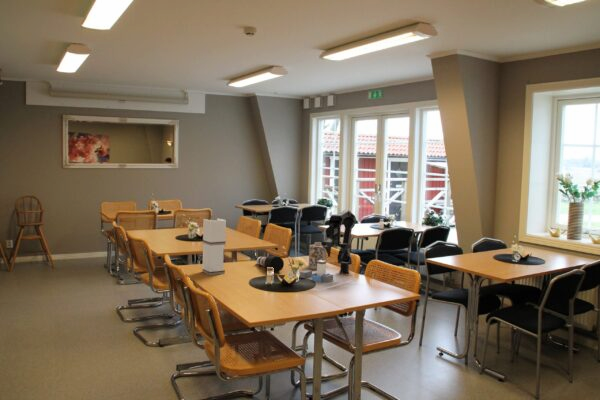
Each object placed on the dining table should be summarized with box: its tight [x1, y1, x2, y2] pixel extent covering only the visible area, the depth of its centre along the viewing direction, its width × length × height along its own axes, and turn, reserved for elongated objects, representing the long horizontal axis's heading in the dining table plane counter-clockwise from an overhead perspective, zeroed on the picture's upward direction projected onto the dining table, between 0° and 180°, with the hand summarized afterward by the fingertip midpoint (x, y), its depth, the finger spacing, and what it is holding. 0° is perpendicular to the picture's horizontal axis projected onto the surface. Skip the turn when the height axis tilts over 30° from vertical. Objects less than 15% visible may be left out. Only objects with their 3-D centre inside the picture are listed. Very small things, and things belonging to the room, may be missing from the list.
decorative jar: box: [308, 241, 327, 270], centre depth 363 cm, size 12×12×18 cm
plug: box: [316, 260, 327, 277], centre depth 320 cm, size 4×4×12 cm
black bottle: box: [256, 255, 285, 273], centre depth 356 cm, size 10×34×10 cm, turn 24°
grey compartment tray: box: [299, 269, 334, 284], centre depth 322 cm, size 20×9×5 cm, turn 53°
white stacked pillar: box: [202, 218, 227, 276], centre depth 334 cm, size 11×11×35 cm
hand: (335, 257), depth 331 cm, fingers open, 9 cm apart
